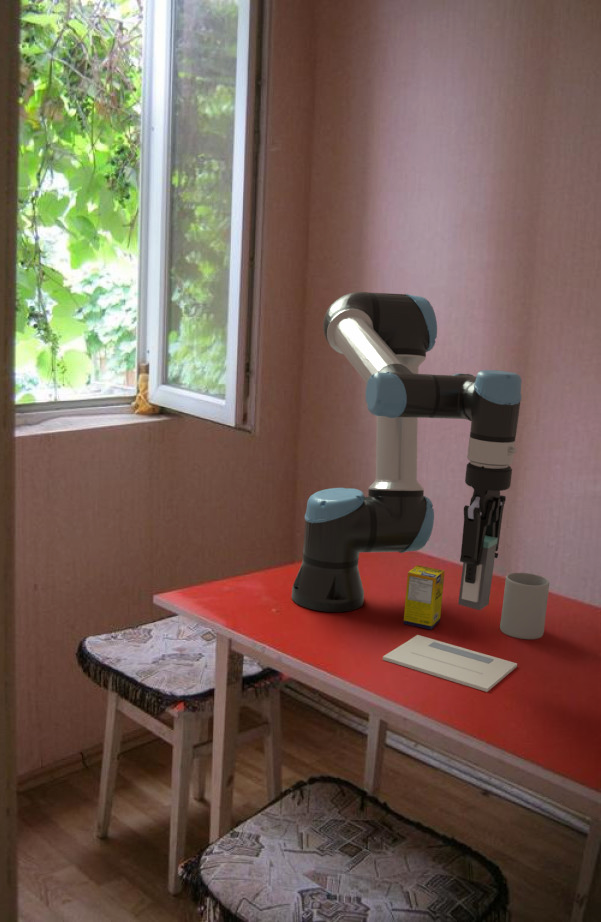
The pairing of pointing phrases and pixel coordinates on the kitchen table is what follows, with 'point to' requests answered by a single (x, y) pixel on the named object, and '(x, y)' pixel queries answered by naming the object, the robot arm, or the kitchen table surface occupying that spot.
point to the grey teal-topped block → (482, 575)
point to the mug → (524, 605)
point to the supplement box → (424, 597)
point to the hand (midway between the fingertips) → (475, 596)
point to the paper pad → (451, 662)
